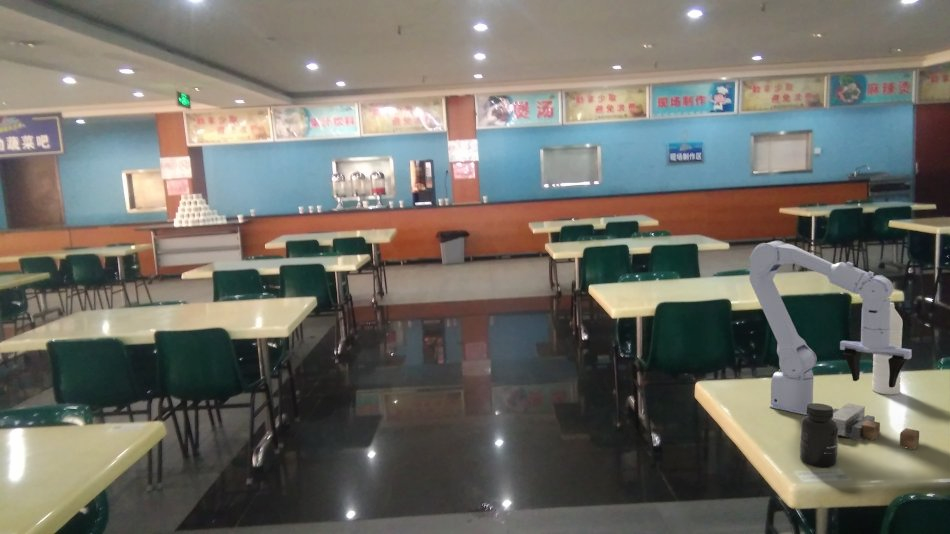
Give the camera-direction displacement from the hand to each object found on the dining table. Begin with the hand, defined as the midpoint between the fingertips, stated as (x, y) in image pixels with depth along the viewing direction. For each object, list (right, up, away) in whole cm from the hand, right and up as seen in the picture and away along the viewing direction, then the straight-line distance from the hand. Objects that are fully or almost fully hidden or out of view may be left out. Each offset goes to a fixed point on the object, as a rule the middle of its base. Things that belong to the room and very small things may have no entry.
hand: (873, 383), depth 151 cm
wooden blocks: (-2, -11, -9) cm, 15 cm away
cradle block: (-8, -11, -2) cm, 13 cm away
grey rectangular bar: (-8, -10, -2) cm, 13 cm away
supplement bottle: (-23, -13, -18) cm, 33 cm away
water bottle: (+17, -7, +24) cm, 30 cm away
